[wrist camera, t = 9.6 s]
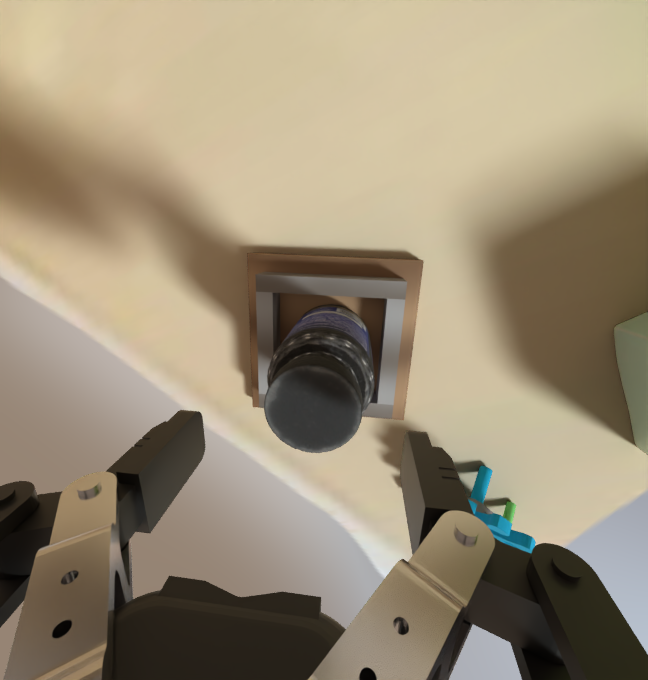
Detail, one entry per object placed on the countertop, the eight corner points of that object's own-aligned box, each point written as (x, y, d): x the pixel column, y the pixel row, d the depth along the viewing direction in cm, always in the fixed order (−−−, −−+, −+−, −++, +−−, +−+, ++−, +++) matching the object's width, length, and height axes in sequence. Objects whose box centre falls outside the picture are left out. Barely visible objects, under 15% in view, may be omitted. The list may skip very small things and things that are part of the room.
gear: (384, 489, 28) (489, 524, 20) (410, 432, 31) (512, 441, 23) (456, 549, 31) (574, 602, 23) (474, 492, 34) (586, 521, 26)
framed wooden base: (252, 252, 25) (236, 254, 22) (420, 259, 24) (429, 262, 21) (257, 400, 29) (244, 420, 26) (401, 412, 28) (407, 435, 25)
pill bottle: (281, 319, 25) (225, 375, 15) (352, 290, 24) (347, 327, 13) (312, 386, 27) (281, 479, 16) (382, 361, 25) (397, 446, 15)
